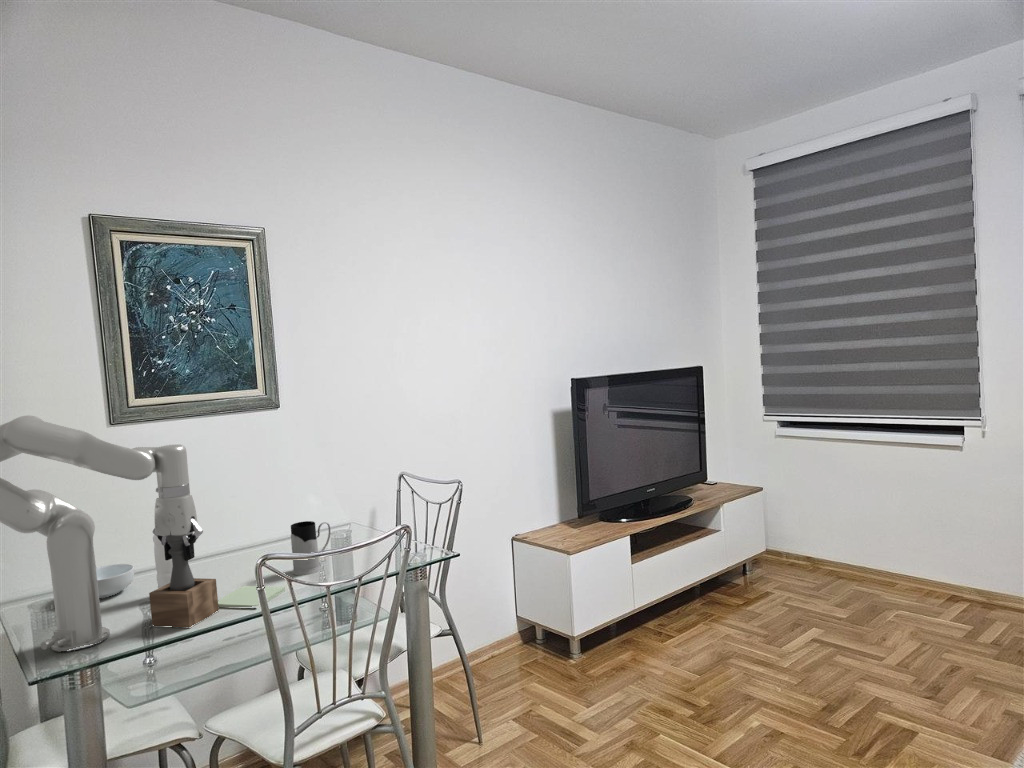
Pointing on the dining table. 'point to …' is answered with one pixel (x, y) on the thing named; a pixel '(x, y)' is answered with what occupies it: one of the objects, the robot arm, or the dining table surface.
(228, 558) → the dining table surface
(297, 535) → the gray black mug
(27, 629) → the dining table surface
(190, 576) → the candle holder
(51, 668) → the dining table surface
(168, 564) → the water bottle
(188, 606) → the walnut sleeve
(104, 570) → the cereal bowl
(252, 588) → the sage mat
